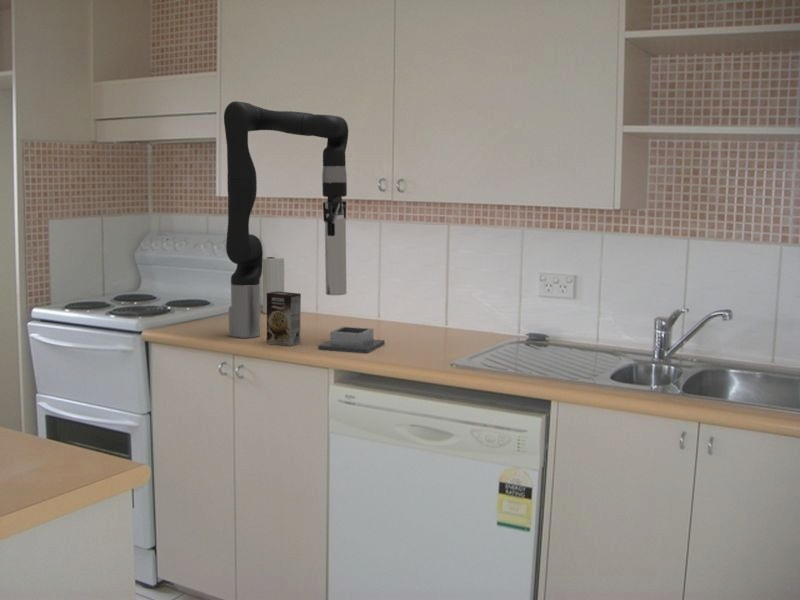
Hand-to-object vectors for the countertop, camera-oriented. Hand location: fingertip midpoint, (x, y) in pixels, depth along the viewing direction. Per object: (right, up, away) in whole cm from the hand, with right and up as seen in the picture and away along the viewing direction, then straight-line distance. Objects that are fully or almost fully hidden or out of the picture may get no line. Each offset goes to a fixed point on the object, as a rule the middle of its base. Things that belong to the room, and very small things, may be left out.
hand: (335, 234), depth 280 cm
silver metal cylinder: (0, -19, +3) cm, 19 cm away
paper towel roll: (-29, -26, +62) cm, 73 cm away
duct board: (+5, -35, -1) cm, 35 cm away
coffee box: (-17, -34, +3) cm, 38 cm away
